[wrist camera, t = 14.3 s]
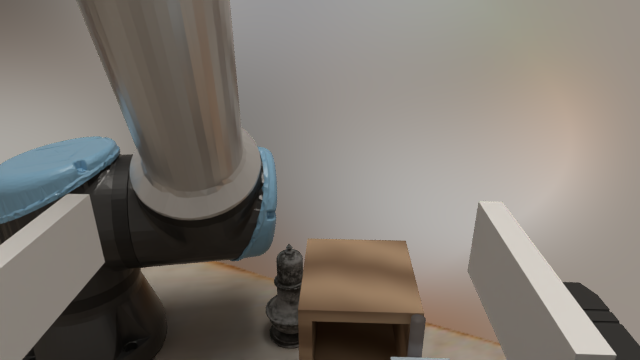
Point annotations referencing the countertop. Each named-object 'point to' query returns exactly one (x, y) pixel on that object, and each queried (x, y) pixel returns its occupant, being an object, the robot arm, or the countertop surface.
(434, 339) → the countertop surface
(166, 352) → the countertop surface
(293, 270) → the salt shaker
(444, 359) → the door
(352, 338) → the cabinet
